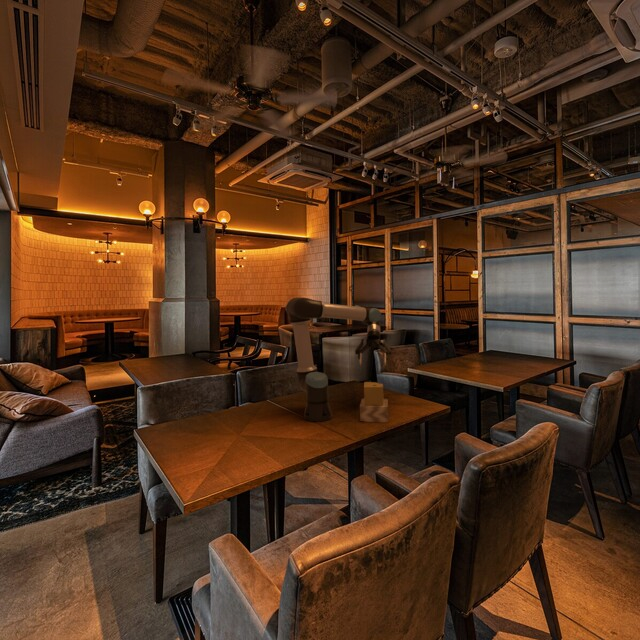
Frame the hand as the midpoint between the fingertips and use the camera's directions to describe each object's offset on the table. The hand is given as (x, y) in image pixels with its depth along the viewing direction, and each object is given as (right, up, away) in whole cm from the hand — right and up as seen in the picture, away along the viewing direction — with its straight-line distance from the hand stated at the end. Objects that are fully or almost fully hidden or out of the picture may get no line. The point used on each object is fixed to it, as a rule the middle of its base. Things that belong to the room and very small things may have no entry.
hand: (372, 364), depth 206 cm
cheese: (-1, -19, -10) cm, 22 cm away
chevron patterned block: (0, -27, -9) cm, 29 cm away
